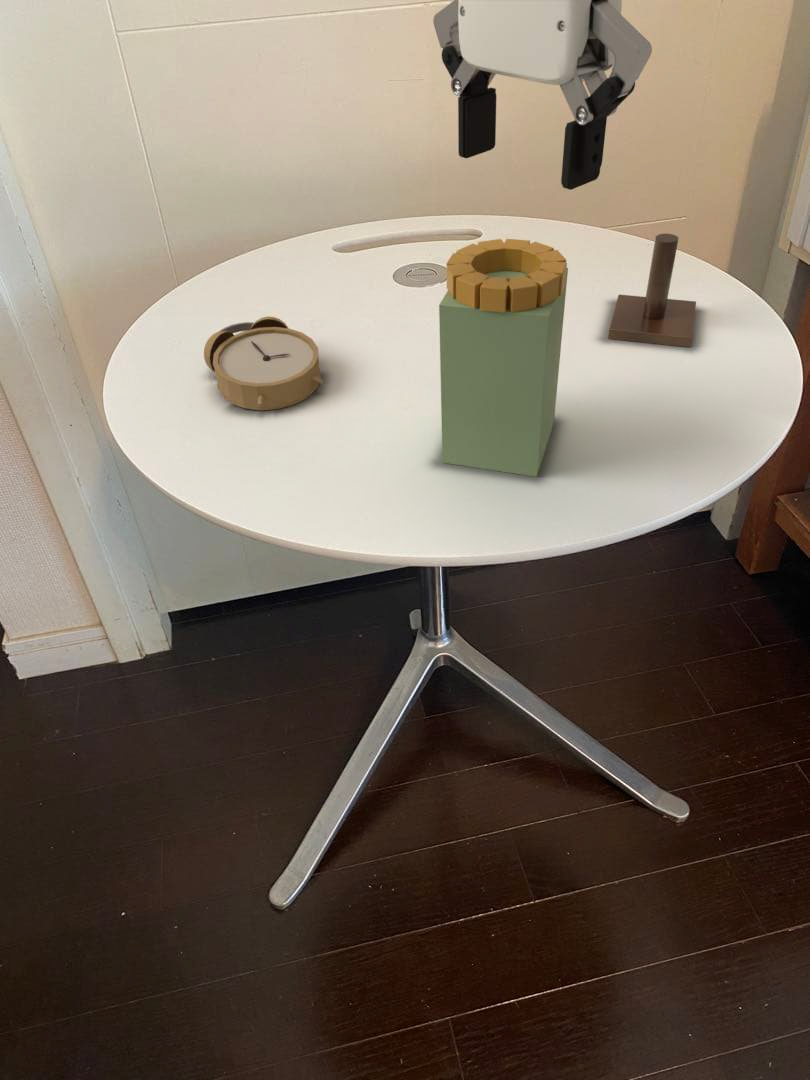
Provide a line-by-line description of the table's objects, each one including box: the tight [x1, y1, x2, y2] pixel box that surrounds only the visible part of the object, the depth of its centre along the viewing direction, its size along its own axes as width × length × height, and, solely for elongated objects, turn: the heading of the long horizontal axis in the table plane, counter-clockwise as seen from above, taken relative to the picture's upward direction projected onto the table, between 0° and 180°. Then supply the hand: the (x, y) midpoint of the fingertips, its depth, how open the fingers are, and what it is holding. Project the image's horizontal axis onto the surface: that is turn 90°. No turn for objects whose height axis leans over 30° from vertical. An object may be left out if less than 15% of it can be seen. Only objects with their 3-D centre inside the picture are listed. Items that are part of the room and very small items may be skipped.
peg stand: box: [607, 233, 697, 348], centre depth 90 cm, size 9×9×10 cm
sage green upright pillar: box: [438, 267, 569, 478], centre depth 73 cm, size 9×9×16 cm
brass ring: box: [446, 238, 568, 313], centre depth 67 cm, size 10×10×2 cm
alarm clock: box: [203, 316, 324, 411], centre depth 88 cm, size 11×5×15 cm
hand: (526, 167), depth 56 cm, fingers open, 9 cm apart
